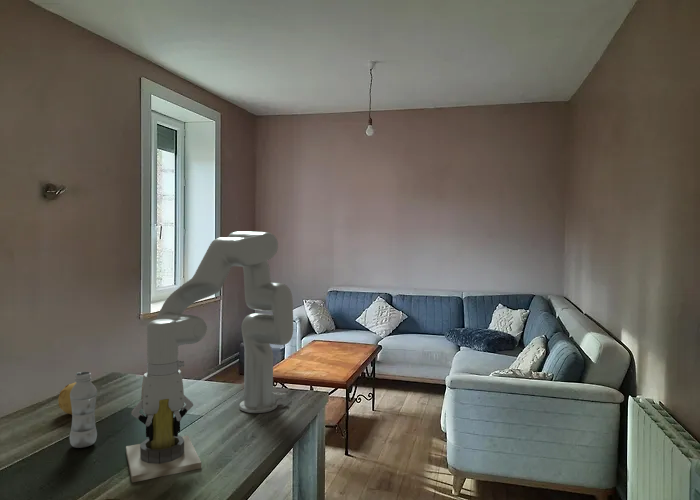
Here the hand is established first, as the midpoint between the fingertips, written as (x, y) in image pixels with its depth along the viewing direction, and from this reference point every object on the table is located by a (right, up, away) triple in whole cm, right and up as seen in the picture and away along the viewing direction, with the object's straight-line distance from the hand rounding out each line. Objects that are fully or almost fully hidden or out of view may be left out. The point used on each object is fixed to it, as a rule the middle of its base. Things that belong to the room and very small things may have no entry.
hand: (163, 436), depth 129 cm
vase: (0, -4, 0) cm, 4 cm away
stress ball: (-39, -4, +30) cm, 50 cm away
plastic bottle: (-25, -6, +7) cm, 26 cm away
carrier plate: (0, -6, 0) cm, 6 cm away
